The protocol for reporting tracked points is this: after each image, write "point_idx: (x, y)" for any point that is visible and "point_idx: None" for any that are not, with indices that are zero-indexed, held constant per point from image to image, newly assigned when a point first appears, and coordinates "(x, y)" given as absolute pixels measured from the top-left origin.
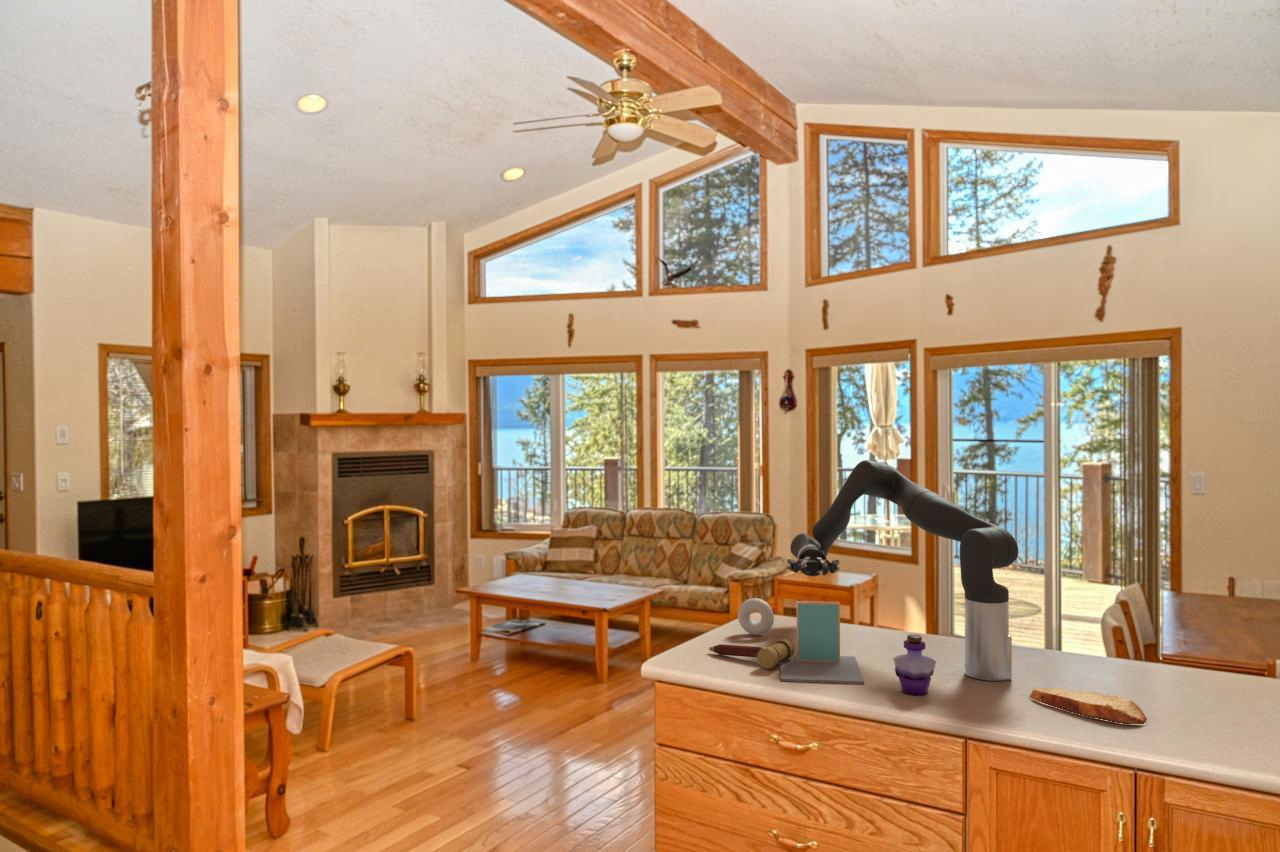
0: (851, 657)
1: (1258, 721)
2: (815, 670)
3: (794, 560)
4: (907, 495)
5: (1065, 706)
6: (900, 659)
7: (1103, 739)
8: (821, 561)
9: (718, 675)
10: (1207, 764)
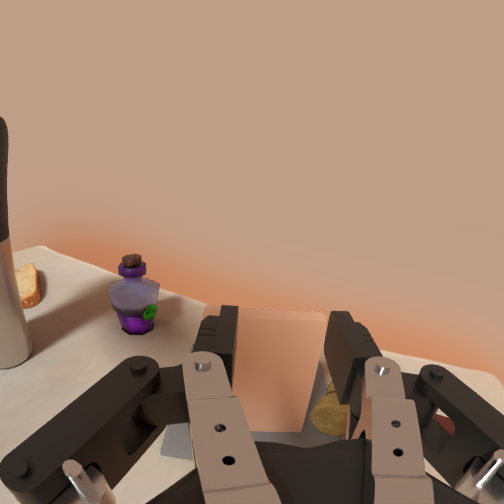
0: (171, 445)
1: None
2: None
3: (493, 451)
4: None
5: (39, 282)
6: (154, 285)
7: (66, 264)
8: (227, 396)
9: (404, 362)
10: (49, 250)
